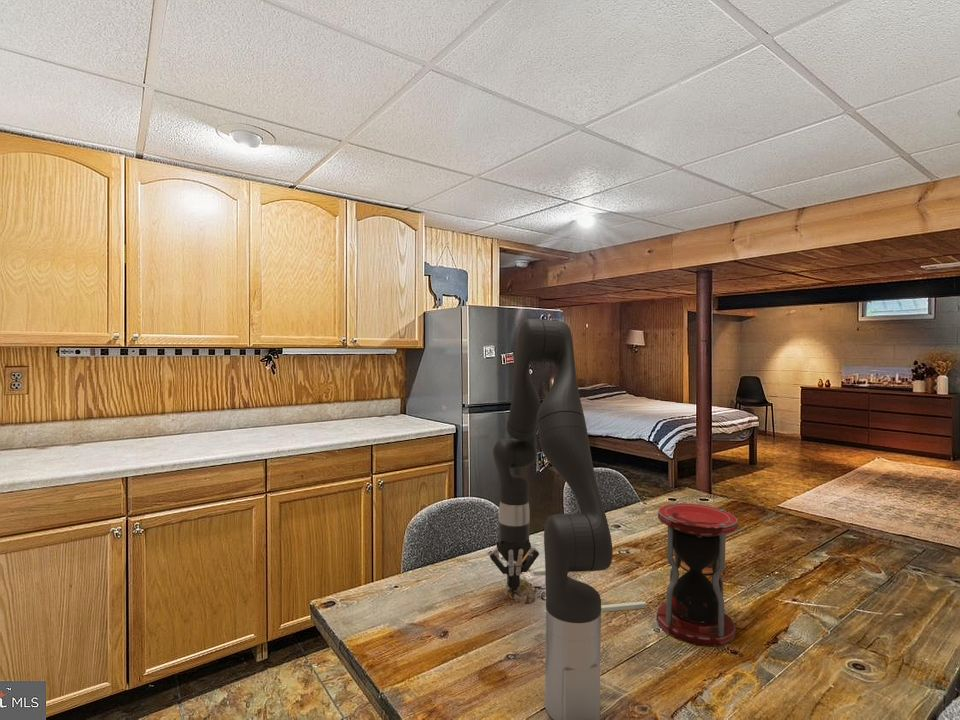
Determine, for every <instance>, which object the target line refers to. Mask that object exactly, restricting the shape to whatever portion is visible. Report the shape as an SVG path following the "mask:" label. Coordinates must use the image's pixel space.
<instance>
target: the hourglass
mask: <svg viewBox="0 0 960 720" xmlns="http://www.w3.org/2000/svg"><path fill="white" fill-rule="evenodd" d="M657 518H658V520H659V521H660V522H661V523H662V524H663V525H666V526H667V539H666V540H667V541H666V542H667V545H666V546H667V547H666V550H667V551H666V559H667V562H668V563H669V565H670V567H671V569H670V572H669V583H668V586H667V589H666V597H665V598H666V602H664V603H661V605H659V606H658V607H657V610H656V614H655V616H656V622H657V624H658V626H659V627H660V628H661V629H662V630H663V631H664V632H665V633H667V634H668V635H670V636H671V637H673V638H675V639H677V640H680V641H682V642H684V643H689V644H692V645H697V646H702V647H703V646H704V647H717V646H725V645H726V644H729V643H731V642H732V641H733V640H734V639H735V637H736V624H735V622H734V621H733V619H732V617H730V616H729V615H727V613H725V600H724V599H725V598H724V579H723V577H722V573H724V571H725V569H726V538H727V537H726V535H728V534H732V533H734V532H735V531H737V530H738V518H737V516H735V515H734V514H733V513H731V512H728V511H727V510H724V509H720V508H718V507H713V506H710V505H704V504H697V503H685V502H684V503H682V502H679V503H669V504H664V505H662V506H661V507H659V509H658V511H657ZM681 559H682V560H683V561H684V562H685V563H686V564H687V565H688V567H689V568H690V570H689V571H688V570H687V571H686V572H685V573H683V574H682V575H681V574H680V570H679V569H680V567H681ZM711 563H712V570H713V573H712V577H711V580H710V579H709V578H708V577H707V576H706V574H703V573H702V569H704V568H705V567H707V566H708V565H710V564H711ZM680 575H681V576H680Z"/></svg>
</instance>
